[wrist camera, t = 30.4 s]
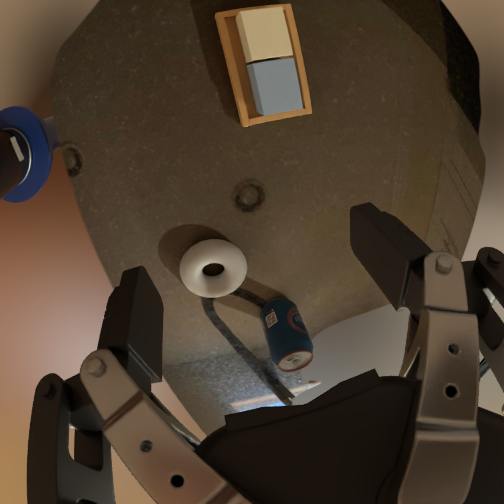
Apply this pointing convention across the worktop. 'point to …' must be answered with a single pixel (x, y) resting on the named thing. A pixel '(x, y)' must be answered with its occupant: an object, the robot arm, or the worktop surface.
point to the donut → (213, 253)
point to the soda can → (286, 335)
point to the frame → (238, 64)
